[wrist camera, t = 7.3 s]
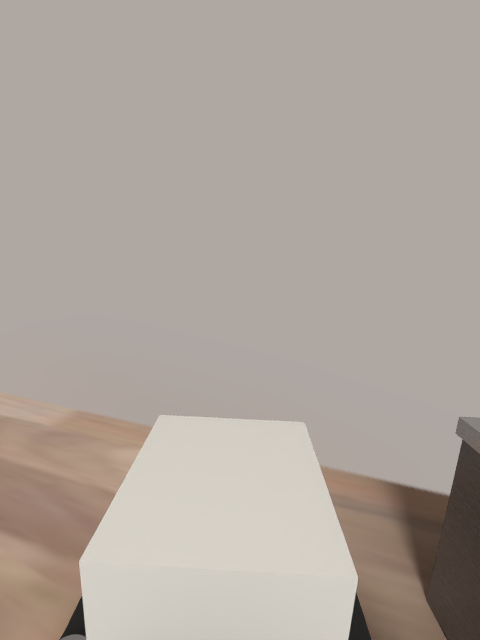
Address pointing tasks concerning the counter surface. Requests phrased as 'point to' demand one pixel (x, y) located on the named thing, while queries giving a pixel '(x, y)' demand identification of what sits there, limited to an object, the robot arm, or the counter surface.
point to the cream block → (220, 540)
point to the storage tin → (460, 545)
